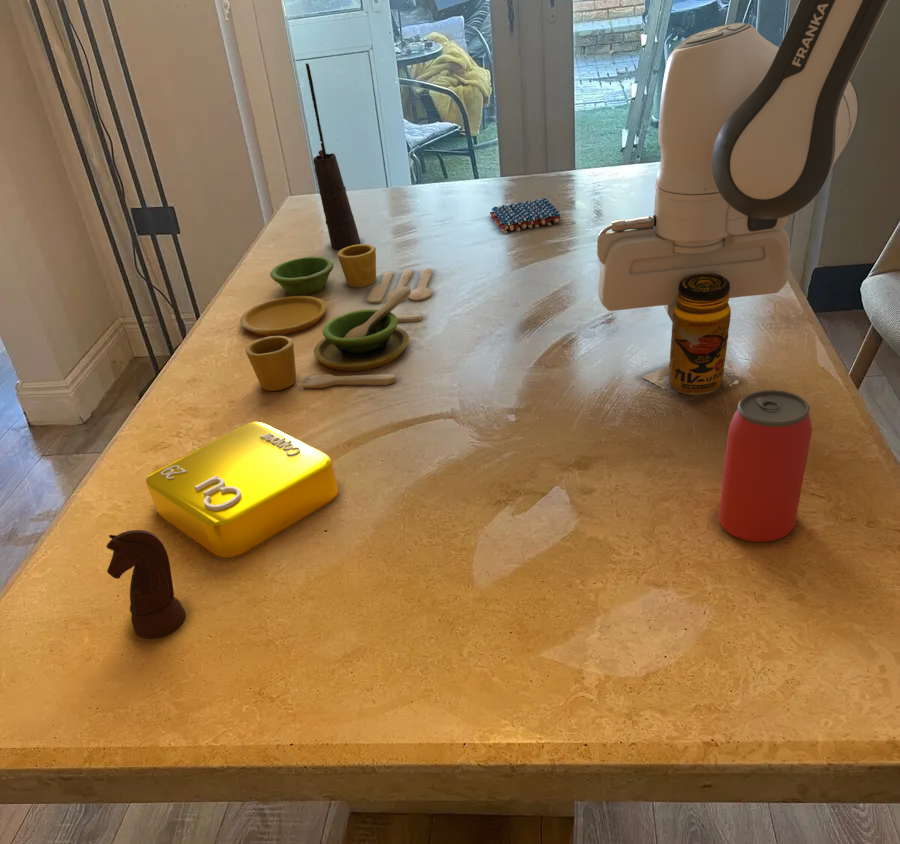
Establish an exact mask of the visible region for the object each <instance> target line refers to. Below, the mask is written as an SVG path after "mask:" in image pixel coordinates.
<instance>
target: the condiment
mask: <svg viewBox="0 0 900 844" xmlns="http://www.w3.org/2000/svg"><path fill="white" fill-rule="evenodd" d="M678 289H679V294H678V296H677V301H678V303H677V304H676V305H675V307H674V312H673V323H671V337H670V350H669V354H670V355H669V364H668V365H667V366H664V367H662V368H661V369H658V370H657V369H656V370H655V371H653V372H651V373H648V374H645V375H644V376H641V378H642V379H645V380H647V381H648V382H650V383H653V384H654V385H655V386H658V387H660V388H661V389H663V390H664V389H666V387H665V386H664V385H663V384H664V380H665V377H668V385H669V388H670V389H671V390H673V391H674V392H677V393H679V394H683V395H687V396H704V395H708V394H711V393H714V392H716V391H717V390H719V389H720V388H721V387H722V384H723V378H724V377H728V375H727V374H724V373H725V363H726V358H727V347H728V339H729V331H730V323H731V316H732V315H731V314H732V309H731V306H730V304H729V301H730V298H729V290H730V283H729V281H728V280H727V279H726V278H724V277H723V276H721V275H717V274H710V273H704V274H694V275H691V276H688V277H686V278H685V279H683V280H682V281H681V282H680V284H679V287H678ZM739 382H740V381H739V380H738V379H735V381H734V382H732V383H731V384H729V386H730V387H733V385H736V384H739Z"/></svg>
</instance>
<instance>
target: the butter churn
mask: <svg viewBox="0 0 900 844" xmlns="http://www.w3.org/2000/svg"><path fill="white" fill-rule="evenodd" d="M305 70H306V74H307V79H308V84H309V88H310V94H311V100H312V104H313V109H314V113H315V115H314V116H315V118H316V124H317V125H316V127H317V129H318V134H319V141H320V142H321V143H320V147H321V149H320V150H319V151H317V152H318V155H316V156H315V157H313V160H312V161H313V164H314V172H315V176H316V182H317V186H318V190H319V191H318V192H319V193H318V194H319V196H320V199H321V204H322V209H323V213H324V217H325V225H326V227H327V232H328V236H329V241H330V247H331V249H332V250H334V251H335V250H336V251H337V250H338V251H340V250H341V249H343V248H346V247H349V246H352V245H358V244H361V238H360V235H359V230H358V227H357V223H356V221H355V217H354V214H353V211H352V207H351V205H350V200H349V198H348V193H347V189H346V186H345V184H344V180H343V177H342V173H341V169H340V166H339V163H338V160H337V156H336V154H335V153H327V151H326V146H325V141H324V137H323V136H324V135H323V132H322V126H321V122H320V116H319V110H318V104H317V99H316V94H315V89H314V87H315V86H314V83H313V78H312V72H311V68H310V64H309V63H308V62H307V63H305Z"/></svg>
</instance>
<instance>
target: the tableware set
mask: <svg viewBox="0 0 900 844" xmlns="http://www.w3.org/2000/svg"><path fill="white" fill-rule="evenodd" d="M376 251H377V248H376V246H375V245H373V244H369V243H362V244H361V243H360V244H358V245H352V246H349V247H346V248H343V249H341V250H338V251H337V254H336V255H337V257H338V261H339V263H340V266H341V270H342V272H343V275H344V278H345V281H346V283H347V285H348V286H349V287H351V288H364V287H368V286H370V285H373V284H375V283H376V280H377V252H376ZM334 266H335V265H334V261H333V260H332V259H330V258H327V257H323V256H304V257H298V258H294V259H290V260H288V261H284V262H282V263H280V264H277V265H276V266H275V267H273V268H272V270H271V271H270V272H269V273H270V278H271V279H272V280H273V281H274V282H276V283H278V285H280V287H282V289H283V290H284V291H285V292H286V293H287V294H289V295H292V296H283V297H277V298H274V299H273V298H272V299H270V300H267V301H264V302H260V303H259V304H256V305H254V306H252V307H251V308H248V309H247V310H245V312H244V313H243V314H242V315H241V317H240V318H239V319H240V320H239V321H240V325H241V326H242V327H243V328H244V329H245V330H247V331H249V332H251V333H252V334H255V335H259V336H264V337H261V338H258V339H256V340H254V341H252V342H251V343H249V344H247V346H246V348H245V353H246V355H247V358H248V361H249V363H250V365H251V367H252V369H253V371H254V372H253V373H255V376H256V378H257V381H258V382H259V385H260V386H261V389H264V390H266V391H268V392H269V391H270V392H278V391H282V390H285V389H288V388H290V387H292V386H293V385H294V384H295V383H296V381H297V373H296V372H297V371H296V361H295V360H296V359H295V357H296V356H295V343H294V340H293V339H292V338H290V337H288V336H286V335H290V334H294V333H298V332H301V331H303V330H305V329H309V328H310V327H312V326H314V325H316V324H317V323H318V322H319V321H320V320H321V319H322V318H323V316H324V314H325V313H326V310H327V304H326V302H325V301H324V300H322V299H321V298H319V297H315V296H311V295H310V294H314V293H317V292H319V291H321V290H323V289H324V288H325V287H326V285H327V282H328V279H329V276H330V273H331V272H332V271H333V269H334ZM413 275H414V270H412V269H405V270H403V271H402V273H401V275H400V278H399V281H398V283H397V286H396V288H395V289H393V290H392V291H390V292H388V293H387V291H388V288H389V286H390V284H391V281H392V279H393V277H394V273H393V271H385V272H384V273H383V274H382V278H381V282H380V284H377V285H375V286H373V287H372V288H371V290H370V292H369V294H368V296H367V299H366V301H367V303H369V304H373V305H375V304H382V302H383V300H384V298H385V296H386V298H385V303H383V305H381V306H380V308H378V309H376V308H375V309H372V308H369V309H367V308H366V309H359V310H354V311H349V312H346V313H343V314H339V315H338V316H336V317H334V318H332V319H330V320H329V321H328V322H326V323H325V325H324V326H323V328H322V330H321V331H322V335H323V338H321V339H320V340H319V341H318V342H317V343H316V345H315V346H314V349H313V355H314V358H315V359H316V360H317V361H318V362H320V363H321V364H323V365H324V366H326V367H328V368H329V369H332V370H336V371H340V372H341V371H342V372H361V371H367V370H368V371H369V370H372V369H376V368H379V367H382V366H384V365H387V364H389V363H391V362H392V361H394V360H396V359H397V358H398V357H399V356H401V355H402V353H403V352H404V350H405V349H406V348H407V346H408V345H409V342H410V336H409V334H408V333H407V331H406V330H404V329H403V328H400V327H398V323H413V322H415V323H416V322H417V323H418V322H421V321H422V320H423V315H422V314H402V315H396V314H394V313H392V311H393V310H395V309H396V308H397V307H398V306H400V305H401V304H402V303H403V302H404V301H406V299H408V300H409V301H414V302H419V301H421V302H422V301H425V300H428V299H430V298H431V297H432V295H433V291H432V290H431V289H430V288H428V285H429V283H430V280H431V278H432V276H433V269H432V268H423V269H422V270H421V271H420V274H419V279H418V285H417V287H416V288H415V289H413V290H411V289H410V287H409V286H407V285H408V283H409V282H410V280H411V279H412V276H413ZM386 294H387V295H386ZM308 295H309V296H308ZM396 382H397V378H396V375H395V374H393V373H392V374H391V373H385V374H360V375H338V376H337V375H333V374H330V373H326V374H317V375H311V376H309V377H307V380H306V381H305V383H304V385H303V389H324V388H325V389H326V388H329V387H333V386H336V385H337V386H338V385H339V386H342V385H345V386H348V385H352V386H353V385H354V386H358V385H359V386H388V385H392V384H395V383H396Z"/></svg>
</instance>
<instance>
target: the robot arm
mask: <svg viewBox="0 0 900 844" xmlns="http://www.w3.org/2000/svg"><path fill="white" fill-rule="evenodd" d="M889 2H890V0H799V1H798V4H797V6H796V8H795V10H794V12H793V15H792V16H791V17H792V18H791V19H790V22H789V24H788V27H787V29H786V30H785V34H784V35H783V37H782V41H781V42H780V45H779V46H777V45H776V44H774V43H772V42H771V41H770V40H767V39H766V38H765V37H764V36H763V35H762V34H760V32H758V30H757V29H756V28H755V26H754V25H752V24H751V23H745V22H735V23H733V22H732V23H726V24H721V25H717V26H714V27H710V28H707V29H704V30H702V31H700V32H696V33H694V34H692V35H689V36H687V37H686V38H684V40H682V41H681V42H680V43H679V44H677V45H676V46H675V47H674V48H673V51H671V53H670V54H669V56H668V59H667V61H666V65H665V70H664V75H663V80H662V87H661V88H662V89H661V95H660V104H659V113H658V114H659V115H658V129H657V130H658V131H657V140H658V145H659V150H660V162H659V166H658V167H659V168H658V171H657V173H656V177H655V186H654V187H655V188H654V208H653V215H648V216H641V217H635V218H632V219H615V220H613V221H611V224H609V225H607V226H605V227H604V228H603V229H601V231H600V233H599V234H598V237H597V242H596V243H597V245H596V246H597V248H596V249H597V250H596V252H597V253H596V254H597V255H596V256H597V257H598V261H599V262H600V269H599V275H598V290H597V291H598V298H599V301H600V303H601V304H602V306H603V307H604V308H605V309H606V310H607V311H608V312H616V311H625V310H634V309H644V308H653V307H662V306H663V308H664V310H665V312H666V313H667V316H668V317H669V319H670V321H671V322H672V323H673V312H674V307H675V305H676V304H677V303H678V301H677V296H678V294H679V289H678V287H679V284H680V282H681V281H682V280H683V279H685V278H686V277H688V276H691V275H694V274H704V273H710V274H717V275H721V276H723V277H724V278H726V279H727V280H728V281H729V283H730V290H729V299H735V298H736V299H737V298H742V297H745V298H746V297H752V296H762V295H771V294H778V293H779V292H780V291H781V290H783V288H784V287H785V286H786V284H787V283H788V278H789V272H790V264H791V263H790V262H791V260H790V259H791V243H790V237H789V234H788V233H787V232H786V231H785V229H784V227H785V226H786V225H787V223H788V219H789V216H790V215H793V214H795V213H797V212H798V211H800V210H802V209H803V208H804V207H806V206H807V205H808V204H809V203H811V201H813V200H814V198H815V197H817V195H818V194H819V192H820V190H822V188H823V186H824V184H825V182H826V180H827V178H828V176H829V174H830V171H831V169H832V168H833V166H834V164H835V163H836V162H837V160H838V158H839V157H840V155H841V153H842V152H843V151H844V149H845V147H846V146H847V144H848V142H849V141H850V139H851V138H852V135H853V134H854V131H855V129H856V126H857V123H858V118H859V108H860V107H859V98H858V93H857V90H856V87H855V85H854V83H853V82H852V80H851V79H852V76H853V75H854V72H855V70H856V68H857V66H858V64H859V62H860V60H861V58H862V57H863V54H864V52H865V50H866V48H867V46H868V44H869V42H870V40H871V38H872V36H873V34H874V32H875V30H876V28H877V26H878V24H879V22H880V19H881V17H882V16H883V14H884V12H885V9H886V8H887V6H888V3H889ZM672 323H671V324H672Z"/></svg>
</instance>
